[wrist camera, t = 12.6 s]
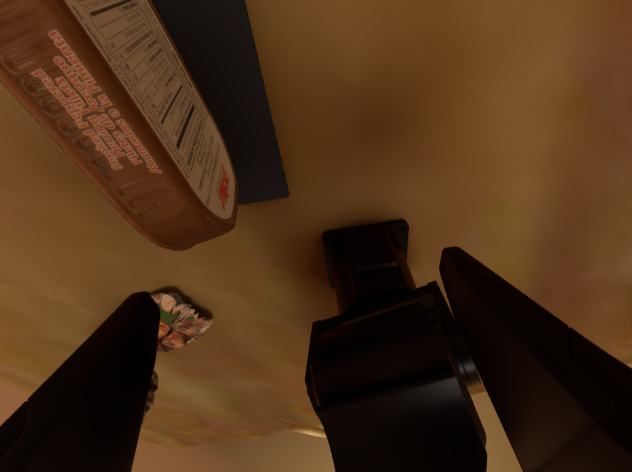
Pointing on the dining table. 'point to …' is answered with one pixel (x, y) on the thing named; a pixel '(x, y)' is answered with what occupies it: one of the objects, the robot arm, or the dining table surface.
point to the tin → (122, 112)
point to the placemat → (230, 88)
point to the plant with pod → (174, 331)
